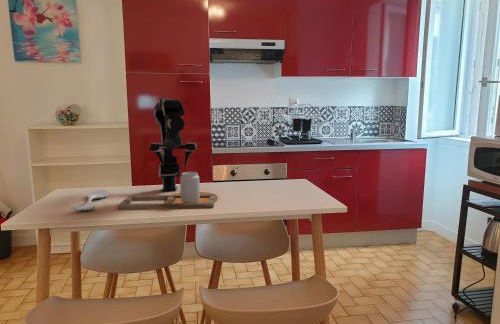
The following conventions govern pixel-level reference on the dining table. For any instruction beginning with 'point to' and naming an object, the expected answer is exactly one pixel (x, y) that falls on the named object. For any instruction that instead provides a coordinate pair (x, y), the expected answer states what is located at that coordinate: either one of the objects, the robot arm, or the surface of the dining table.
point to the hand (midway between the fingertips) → (174, 167)
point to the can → (190, 187)
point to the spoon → (91, 195)
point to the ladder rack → (167, 204)
